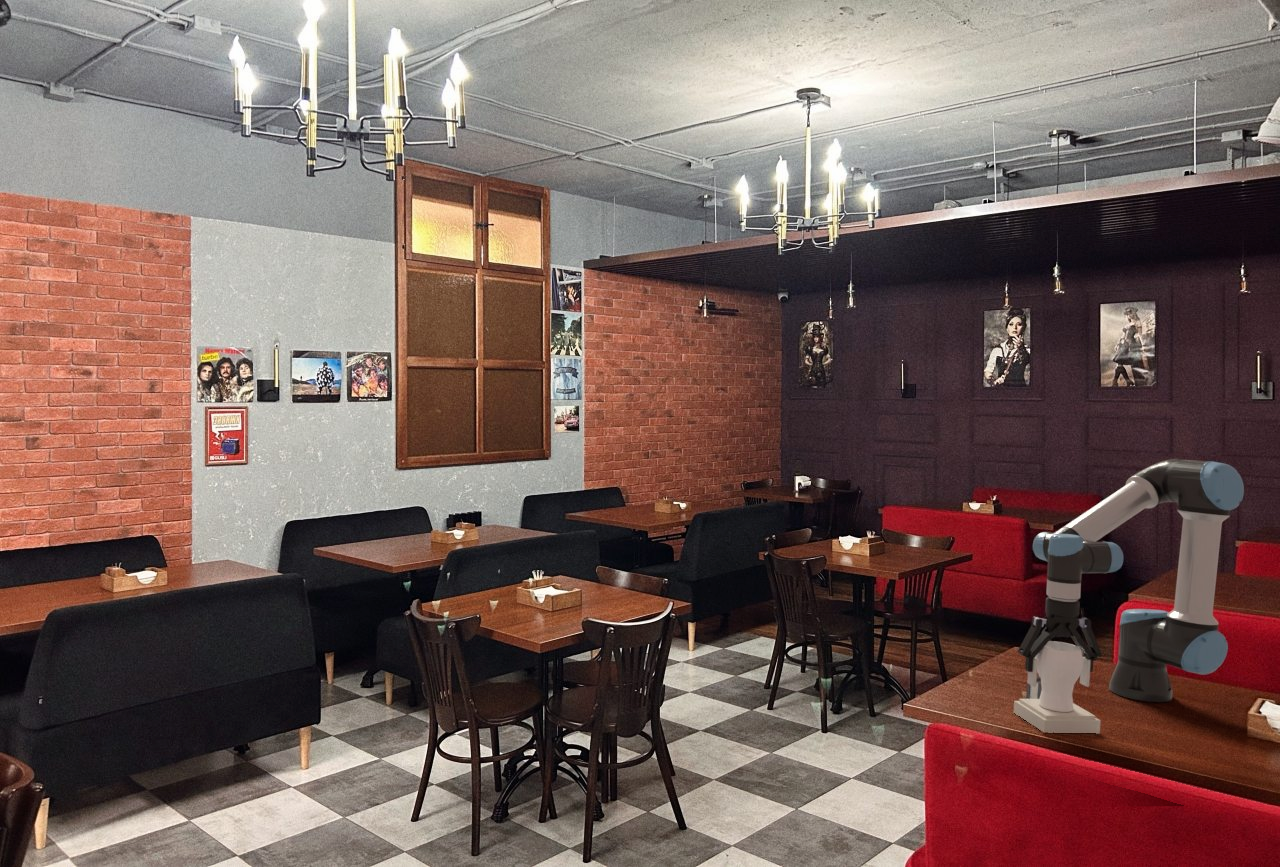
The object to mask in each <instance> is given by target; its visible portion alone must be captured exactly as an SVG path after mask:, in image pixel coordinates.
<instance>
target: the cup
mask: <svg viewBox="0 0 1280 867" xmlns="http://www.w3.org/2000/svg"><path fill="white" fill-rule="evenodd" d="M1083 657H1084V656H1083V653H1082V651H1081V648H1080V647H1078V646H1077V645H1076V644H1073V643H1068V642H1063V641H1055V640H1054V641H1053V640H1050V641H1049V642H1048V643H1047V644H1046V645H1045V646H1044V647H1043V649H1042V650H1041V651H1040V652H1039V653H1038V654H1037V655H1036V657H1035V659H1037V675H1038V677H1040V678H1041V686H1042V691H1041V695H1040V699H1039V705H1040V706H1041V707H1043V708H1045V709H1048V710H1052V711H1058V712H1071V711H1073V710H1074V709H1073V703H1074V700H1073V699H1074V698H1073V692H1074V688H1075V684H1076V682H1077V681H1078V679H1080V674H1081V671H1082V668H1083Z"/></svg>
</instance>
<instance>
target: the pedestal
mask: <svg viewBox="0 0 1280 867" xmlns="http://www.w3.org/2000/svg"><path fill="white" fill-rule="evenodd" d="M1073 709H1074V710H1073V711H1071V712H1058V711H1052V710H1048V709H1045V708H1043V707H1041V706H1040V705H1039V699H1026V698H1019V699H1018V700H1014V702H1013V714H1014V713H1015V714H1016V716H1017V715H1018V716H1020V717H1021V718H1023V719H1024V720H1026V721H1027V722H1029V723H1030V724H1032V725H1034V726H1035V727H1037V728H1038V729H1039V730H1041V731H1043V732H1048V733H1053V732H1054V733H1096V735H1097V734H1098V735H1100V733H1101V722H1102V721H1101V719H1099V718H1098V717H1096V715H1094V714H1093V713H1091V712H1090V711H1088V710H1086V709H1084V708H1082V707H1081V706H1079V705H1078V704H1076V703H1074V702H1073ZM1015 714H1014V715H1015ZM1018 716H1017V717H1018ZM1020 717H1019V718H1020ZM1021 718H1020V719H1021ZM1023 719H1022V720H1023ZM1024 720H1023V721H1024ZM1026 721H1025V722H1026ZM1027 722H1026V723H1027ZM1029 723H1028V724H1029ZM1030 724H1029V725H1030ZM1032 725H1031V726H1032ZM1035 727H1034V728H1035ZM1038 729H1037V730H1038ZM1039 730H1038V731H1039Z"/></svg>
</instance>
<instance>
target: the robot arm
mask: <svg viewBox="0 0 1280 867" xmlns="http://www.w3.org/2000/svg"><path fill="white" fill-rule="evenodd" d="M1244 488H1245V486H1244V482H1243V479H1242V477H1241V474H1240V473H1239V472H1238V471H1237V469H1236V468H1235V467H1233V466H1232V465H1229V464H1227V463H1223V462H1217V461H1209V460H1206V461H1205V460H1195V459H1194V460H1193V459H1183V458H1173V459H1172V458H1171V459H1170V458H1169V459H1165V460H1162V461H1159V462H1157V463H1155V464H1152V465H1149V466H1148V467H1146V468H1144V469H1141V470H1139V471H1138V472H1136V473H1135V474H1133V475H1131V477H1129V478H1128V479H1127V480H1126V481H1125V485H1124V486H1123V487H1121V488H1119V489H1118V490H1117V491H1115V492H1113V493H1112V494H1111V495H1109V496H1107V497H1106V498H1104V499H1103V500H1101V501H1100V502H1099V503H1096V505H1094V506H1092V507H1091V508H1090V509H1088V510H1086V511H1084V512H1083V513H1081V515H1079V516H1077V517H1075V518H1074V519H1072V520H1071V521H1070V522H1069V523H1067V524H1066V525H1064V526H1062V527H1061V528H1059V529H1057V530H1056V531H1054V532H1052V531H1042V532H1040V533H1038V534H1037V535H1036V536H1034V539H1033V543H1032V551H1033V553H1034V555H1035V557H1036V558H1038V559H1039V560H1042V561H1045V562H1047V573H1046V575H1047V576H1046V595H1047V597H1046V598H1045V606H1044V607H1045V617H1044V618H1041V617H1038V616H1033V617H1032V619H1031V625H1030V627H1029V629H1028V631H1027V633H1026V635H1025V637H1024V639H1023V640H1022V643H1021V644H1020V645H1019V646H1020V647H1019V648H1018V650H1017V653H1018V654H1019V655H1021V656H1023V657H1025V658H1024V659H1025V663H1024V664H1025V665H1024V669H1025V671H1026V672H1027V678H1028V679H1027V678H1026V684H1027V683H1028V684H1030V685H1032V686H1036V679H1037V677H1038V672H1037V659H1035V657H1036V655H1037V654H1038V653H1039V652H1040V651H1041V650H1042V649H1043V647H1044V646H1045V645H1046V644H1047V643H1048V642H1049V641H1051V640H1052V639H1054V638H1062V637H1065V638H1071V639H1072V641H1073V643H1075V645H1076V646H1078V647H1080V648H1081V651H1082V655H1084V656H1083V668H1082V671H1081V674H1080V676H1079V684H1081V685H1082V686H1085V687H1086V688H1087V687H1088V688H1089V687H1090V680H1091V679H1090V677H1091V673H1092V672H1093V671H1094V661H1096V660H1097V658H1101V657H1102V651H1101V648H1100V646H1099V643H1098V641H1097V638H1096V636H1095V634H1094V631H1093V629H1092V620H1091V619H1089V618H1087V617H1085V616H1082V617H1081V618H1079V615H1080V610H1081V608H1080V605H1081V603H1080V601H1079V600H1080V599H1081V588H1082V587H1081V586H1082V575H1083V574H1108V573H1114V572H1117V571H1118V570H1120V569H1122V566H1123V563H1124V552H1123V549H1121V547H1120V546H1119V545H1118V544H1117V543H1114V542H1112V541H1105V540H1102V541H1099V540H1101V539H1102V538H1103V537H1105V536H1106V535H1108V534H1109V533H1111V532H1112V531H1113V530H1115V529H1117V528H1118V527H1120V526H1121V525H1123V524H1124V523H1125V522H1127V521H1128V520H1130V519H1131V518H1133V517H1134V516H1136V515H1137V514H1139V513H1140V512H1141V511H1143V510H1145V509H1153V508H1155V507H1156V506H1158V505H1161V504H1163V503H1175V504H1177V510H1176V511H1177V512H1178V513H1179V514H1180V516H1181V518H1182V526H1181V538H1180V546H1179V555H1178V556H1179V557H1178V566H1177V575H1176V576H1177V577H1176V583H1175V584H1176V587H1175V594H1174V595H1175V596H1174V597H1175V598H1174V603H1173V604H1174V606H1173V609H1172V610H1171V611H1167V610H1161V609H1152V608H1151V609H1150V608H1149V609H1148V608H1132V609H1131V608H1129V609H1126V610H1123V611H1122V613H1121V614H1120V622H1119V631H1118V632H1119V634H1118V635H1119V636H1118V638H1119V639H1118V658H1117V664H1116V666H1115V668H1114V670H1113V674H1112V675H1111V678H1110V679H1109V687H1108V689H1109V691H1111V692H1112V693H1114V694H1116V695H1118V696H1121V697H1123V698H1126V699H1131V700H1136V701H1140V702H1147V703H1167V702H1170V701H1172V700H1173V688H1172V685H1171V682H1170V678H1169V674H1168V670H1167V665H1169V666H1172V667H1174V668H1178V669H1181V670H1183V671H1185V672H1188V673H1194V674H1198V675H1202V676H1203V675H1209V674H1211V673H1214V672H1216V670H1217V669H1218V668H1220V667H1221V666H1222V664H1223V663H1224V661H1225V659H1226V657H1227V654H1228V651H1229V650H1228V649H1229V647H1228V645H1229V644H1228V641H1227V640H1226V637H1225V635H1224V634H1223V633H1221V632H1220V631H1219V621H1218V619H1216V618H1215V617H1214V614H1213V613H1214V603H1215V602H1214V601H1215V596H1216V595H1215V593H1216V584H1217V572H1218V563H1219V553H1220V544H1221V537H1222V536H1221V534H1222V526H1223V522H1224V521H1226V520H1227V519H1229V518H1230V517H1231V516H1230V515H1231V511H1232V510H1235V509H1236V508H1237V507H1239V506H1240V503H1241V502H1242V501H1243V497H1244V493H1245V489H1244ZM1044 626H1045V627H1044ZM1043 627H1044V628H1043ZM1078 627H1080V628H1081V631H1082V633H1083V636H1084V638H1085V640H1086V642H1085V641H1084V640H1083V638H1082V637H1081V634H1080V633H1079V632H1078V631H1077V629H1078ZM1042 628H1043V629H1042ZM1041 630H1042V631H1041ZM1040 632H1041V633H1040ZM1086 643H1087V644H1086Z"/></svg>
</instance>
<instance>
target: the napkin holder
mask: <svg viewBox="0 0 1280 867" xmlns="http://www.w3.org/2000/svg"><path fill="white" fill-rule="evenodd" d="M1027 679H1028V677H1027V678H1026V680H1027ZM1041 691H1042V686H1041V678H1040V676H1037V679H1036V686H1032V685H1030V684H1028V683H1027V682H1026V694H1025V696H1026V697H1025V699H1040V695H1041Z"/></svg>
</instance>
